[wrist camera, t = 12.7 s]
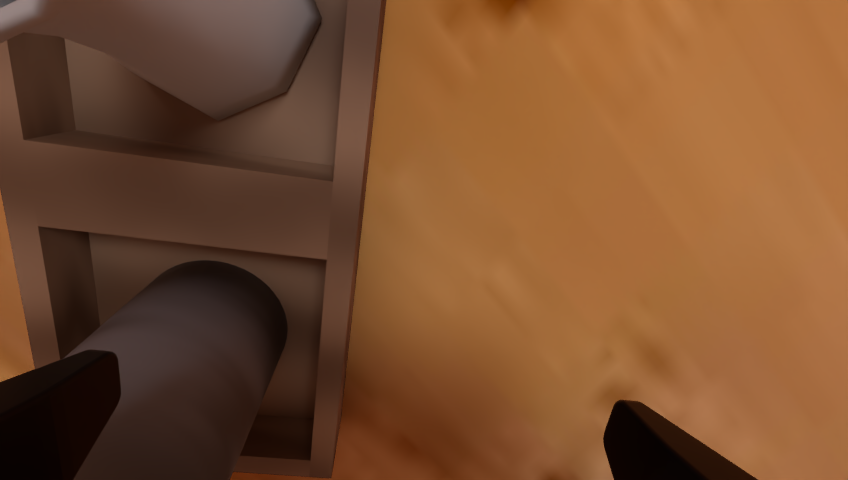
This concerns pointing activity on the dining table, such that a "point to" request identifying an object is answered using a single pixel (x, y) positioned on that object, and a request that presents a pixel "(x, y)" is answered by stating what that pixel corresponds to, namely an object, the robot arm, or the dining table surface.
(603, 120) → the dining table surface
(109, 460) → the cruet stand
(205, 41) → the flask
